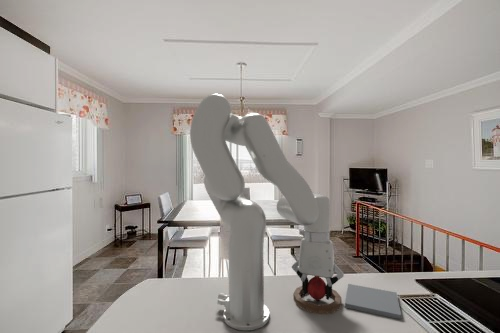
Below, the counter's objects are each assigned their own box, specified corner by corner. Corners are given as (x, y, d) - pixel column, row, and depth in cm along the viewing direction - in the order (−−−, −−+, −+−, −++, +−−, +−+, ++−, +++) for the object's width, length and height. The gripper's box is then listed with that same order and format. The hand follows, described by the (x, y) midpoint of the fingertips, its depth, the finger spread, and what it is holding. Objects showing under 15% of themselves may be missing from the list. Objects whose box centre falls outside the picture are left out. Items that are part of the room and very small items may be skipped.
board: (345, 307, 73) (345, 303, 73) (348, 287, 85) (348, 283, 85) (401, 319, 67) (401, 315, 67) (396, 296, 79) (396, 292, 79)
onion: (327, 306, 74) (327, 279, 74) (307, 304, 75) (307, 277, 75) (326, 296, 79) (325, 270, 79) (307, 294, 81) (306, 269, 80)
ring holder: (288, 306, 74) (288, 301, 74) (300, 286, 86) (300, 281, 86) (338, 318, 68) (338, 312, 68) (342, 294, 80) (342, 289, 80)
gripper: (285, 235, 77) (285, 295, 77) (346, 242, 70) (346, 308, 70) (292, 229, 84) (292, 284, 84) (348, 235, 77) (348, 295, 77)
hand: (317, 294), depth 77 cm, fingers closed on onion, 5 cm apart
